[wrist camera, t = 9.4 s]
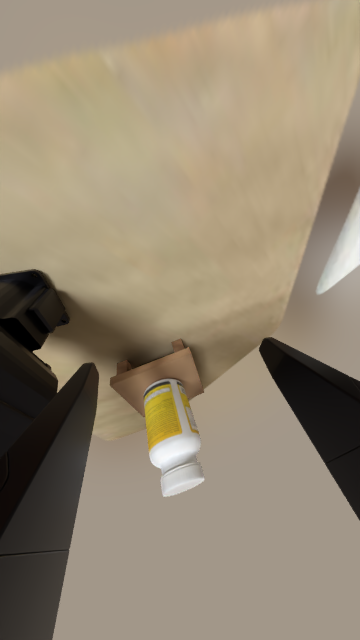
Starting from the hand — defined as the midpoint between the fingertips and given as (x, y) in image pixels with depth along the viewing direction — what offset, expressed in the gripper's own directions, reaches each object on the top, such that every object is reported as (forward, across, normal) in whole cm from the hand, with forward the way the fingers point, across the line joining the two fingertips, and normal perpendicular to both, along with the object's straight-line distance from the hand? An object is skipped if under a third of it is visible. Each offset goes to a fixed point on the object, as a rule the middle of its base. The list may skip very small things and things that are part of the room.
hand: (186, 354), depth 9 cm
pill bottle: (+9, 0, +18) cm, 20 cm away
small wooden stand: (+13, +1, +18) cm, 23 cm away
